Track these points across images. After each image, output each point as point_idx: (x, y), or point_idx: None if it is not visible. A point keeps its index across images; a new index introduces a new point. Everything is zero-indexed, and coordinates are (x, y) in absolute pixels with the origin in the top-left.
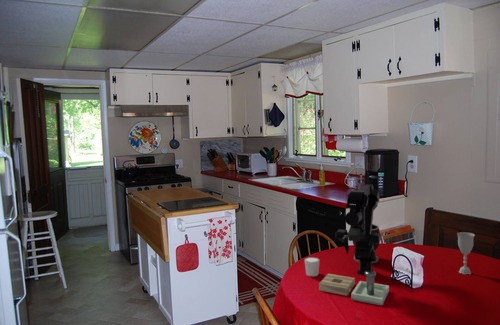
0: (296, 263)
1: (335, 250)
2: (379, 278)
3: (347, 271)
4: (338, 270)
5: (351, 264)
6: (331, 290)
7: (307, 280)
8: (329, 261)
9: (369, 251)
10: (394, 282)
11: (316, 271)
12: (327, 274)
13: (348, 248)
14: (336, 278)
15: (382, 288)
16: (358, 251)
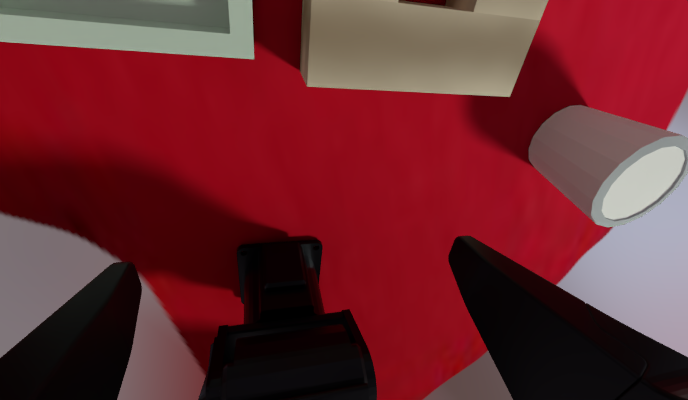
0: None
1: (435, 379)
2: (174, 231)
3: (374, 242)
4: (420, 235)
5: (364, 313)
6: None
7: (611, 26)
8: (460, 299)
9: (35, 347)
10: (49, 215)
11: (563, 132)
12: (515, 80)
13: (476, 321)
14: (453, 17)
15: (11, 8)
16: (339, 366)
